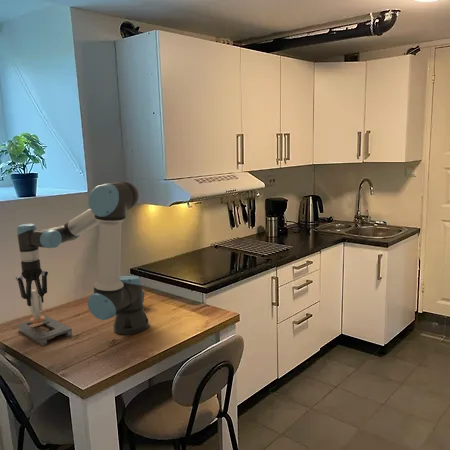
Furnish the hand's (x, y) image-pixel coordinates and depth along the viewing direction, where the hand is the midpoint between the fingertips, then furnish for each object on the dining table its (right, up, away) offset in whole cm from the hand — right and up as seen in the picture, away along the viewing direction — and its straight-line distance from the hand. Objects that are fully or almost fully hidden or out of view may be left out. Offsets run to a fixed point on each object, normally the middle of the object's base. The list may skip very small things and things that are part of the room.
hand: (36, 311), depth 197 cm
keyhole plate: (+5, -9, -3) cm, 11 cm away
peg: (0, -4, +1) cm, 5 cm away
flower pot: (+38, -3, +23) cm, 45 cm away
